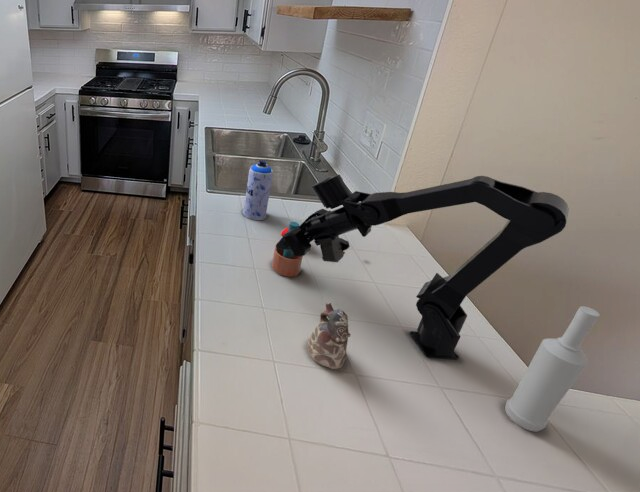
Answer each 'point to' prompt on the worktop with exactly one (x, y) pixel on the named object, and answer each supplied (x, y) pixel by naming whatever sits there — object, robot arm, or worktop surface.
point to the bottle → (551, 374)
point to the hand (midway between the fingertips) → (285, 240)
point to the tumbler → (286, 264)
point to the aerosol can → (258, 191)
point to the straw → (289, 253)
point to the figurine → (330, 338)
